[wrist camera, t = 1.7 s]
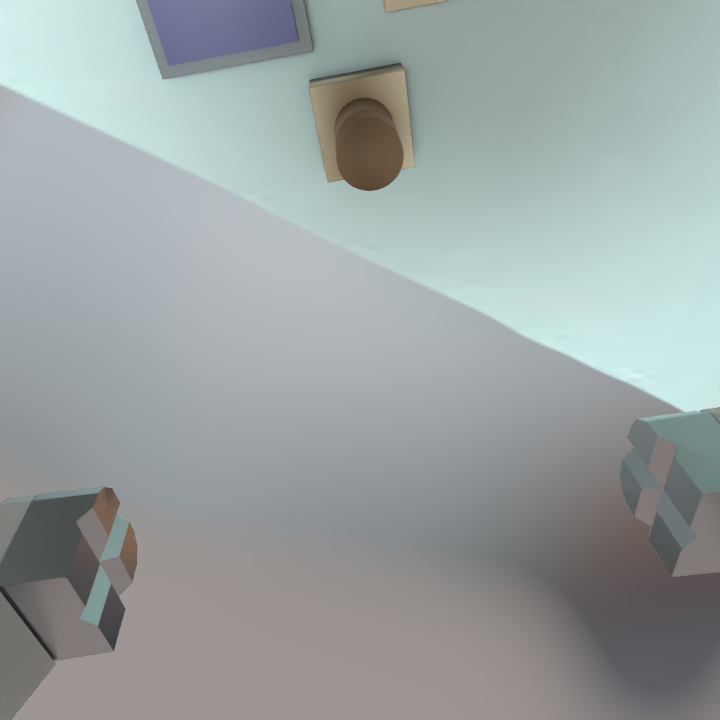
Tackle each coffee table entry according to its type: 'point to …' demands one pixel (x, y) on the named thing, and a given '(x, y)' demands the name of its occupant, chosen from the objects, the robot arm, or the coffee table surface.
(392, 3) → the card sheet
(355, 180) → the stamp
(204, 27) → the ink pad
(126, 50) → the coffee table surface
